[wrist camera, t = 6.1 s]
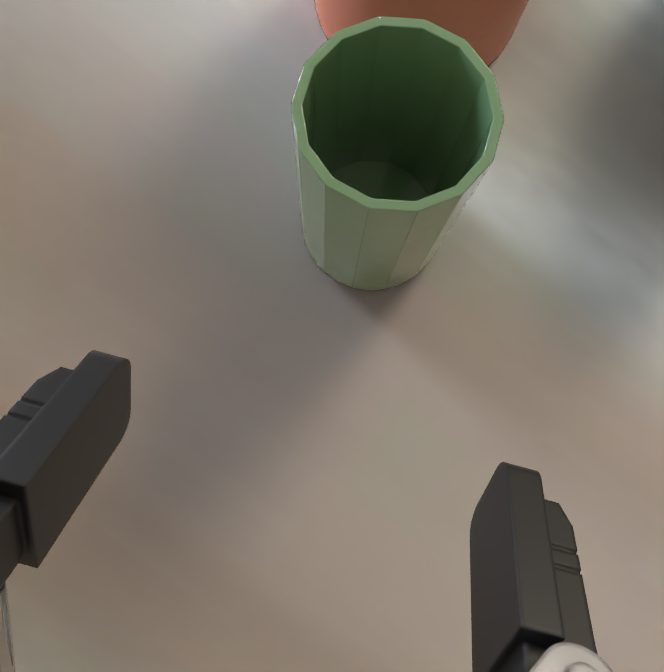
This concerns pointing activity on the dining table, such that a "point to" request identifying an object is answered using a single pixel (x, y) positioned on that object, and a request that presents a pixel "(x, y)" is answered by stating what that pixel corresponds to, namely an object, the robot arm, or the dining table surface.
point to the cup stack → (434, 18)
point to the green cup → (389, 146)
